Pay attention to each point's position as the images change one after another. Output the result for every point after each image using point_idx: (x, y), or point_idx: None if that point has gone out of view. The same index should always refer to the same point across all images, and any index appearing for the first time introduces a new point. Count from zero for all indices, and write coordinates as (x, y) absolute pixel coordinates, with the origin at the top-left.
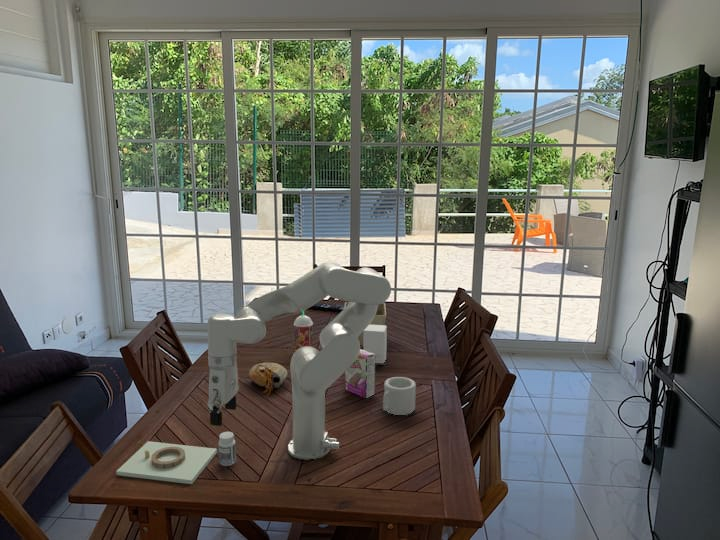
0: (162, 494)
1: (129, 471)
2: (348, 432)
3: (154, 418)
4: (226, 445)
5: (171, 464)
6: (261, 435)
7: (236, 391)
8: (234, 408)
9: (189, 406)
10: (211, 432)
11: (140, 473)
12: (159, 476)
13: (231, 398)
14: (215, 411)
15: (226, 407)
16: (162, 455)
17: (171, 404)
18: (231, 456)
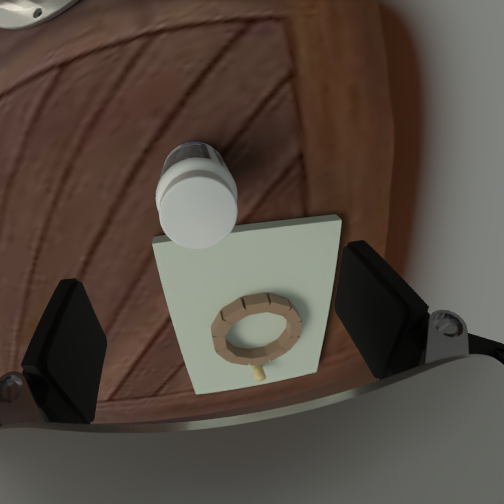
0: None
1: (315, 356)
2: None
3: (108, 416)
4: (232, 183)
5: (292, 307)
6: (7, 159)
7: (50, 459)
8: (77, 288)
9: None
10: None
11: (321, 338)
12: (330, 300)
13: (314, 411)
14: (476, 336)
15: (102, 342)
16: (241, 347)
17: None
18: (214, 153)
